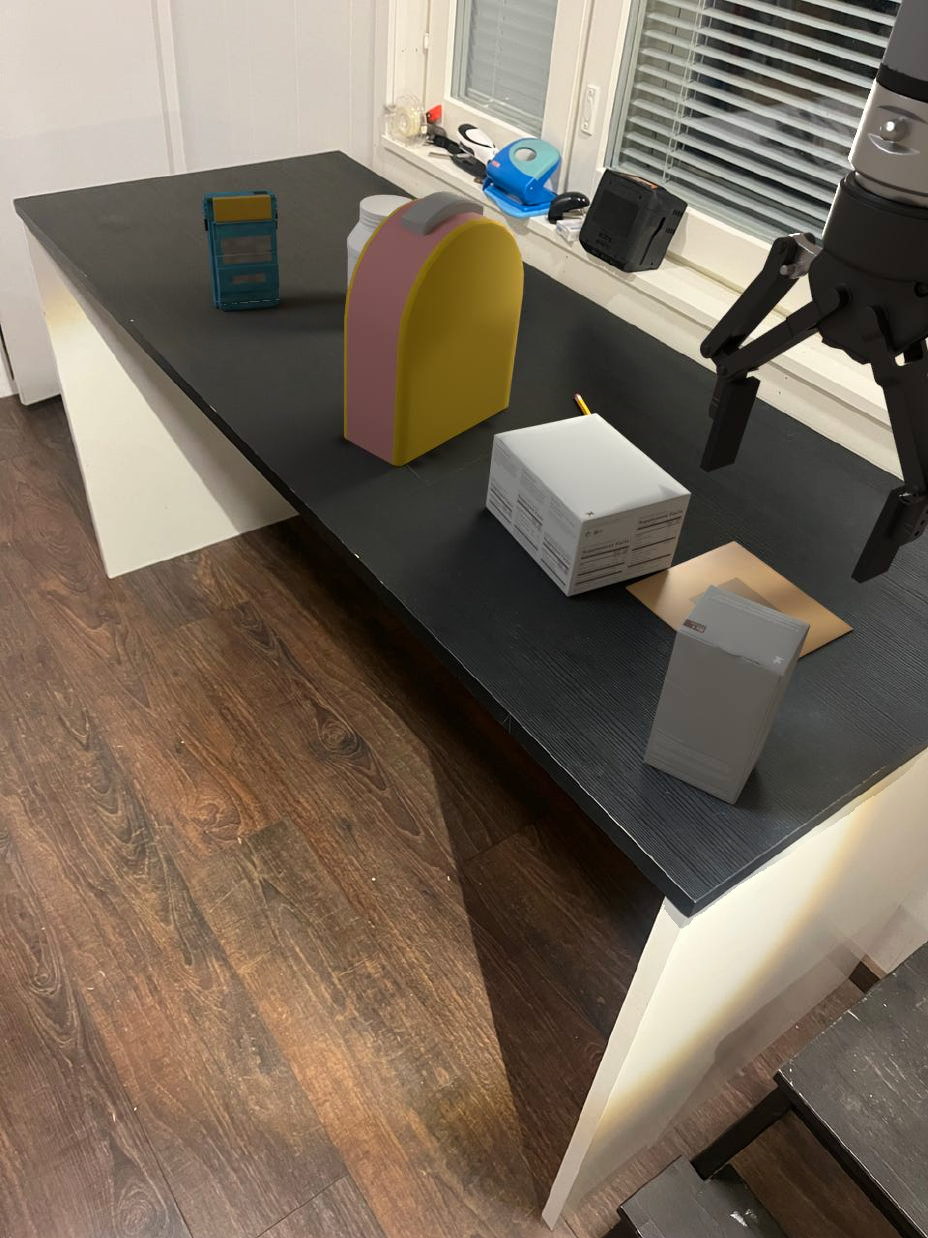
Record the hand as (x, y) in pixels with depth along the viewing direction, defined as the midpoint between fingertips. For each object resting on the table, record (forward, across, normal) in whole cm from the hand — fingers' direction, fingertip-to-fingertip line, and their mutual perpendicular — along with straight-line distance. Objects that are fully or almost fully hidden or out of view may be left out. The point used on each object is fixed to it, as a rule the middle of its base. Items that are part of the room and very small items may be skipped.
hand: (788, 516), depth 64 cm
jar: (+25, -84, +18) cm, 89 cm away
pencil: (+25, -46, +26) cm, 58 cm away
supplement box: (+25, -28, +10) cm, 39 cm away
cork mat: (+24, -12, +17) cm, 32 cm away
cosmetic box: (+25, +1, -1) cm, 25 cm away
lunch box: (+25, -56, +8) cm, 61 cm away
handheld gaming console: (+25, -93, +1) cm, 96 cm away
